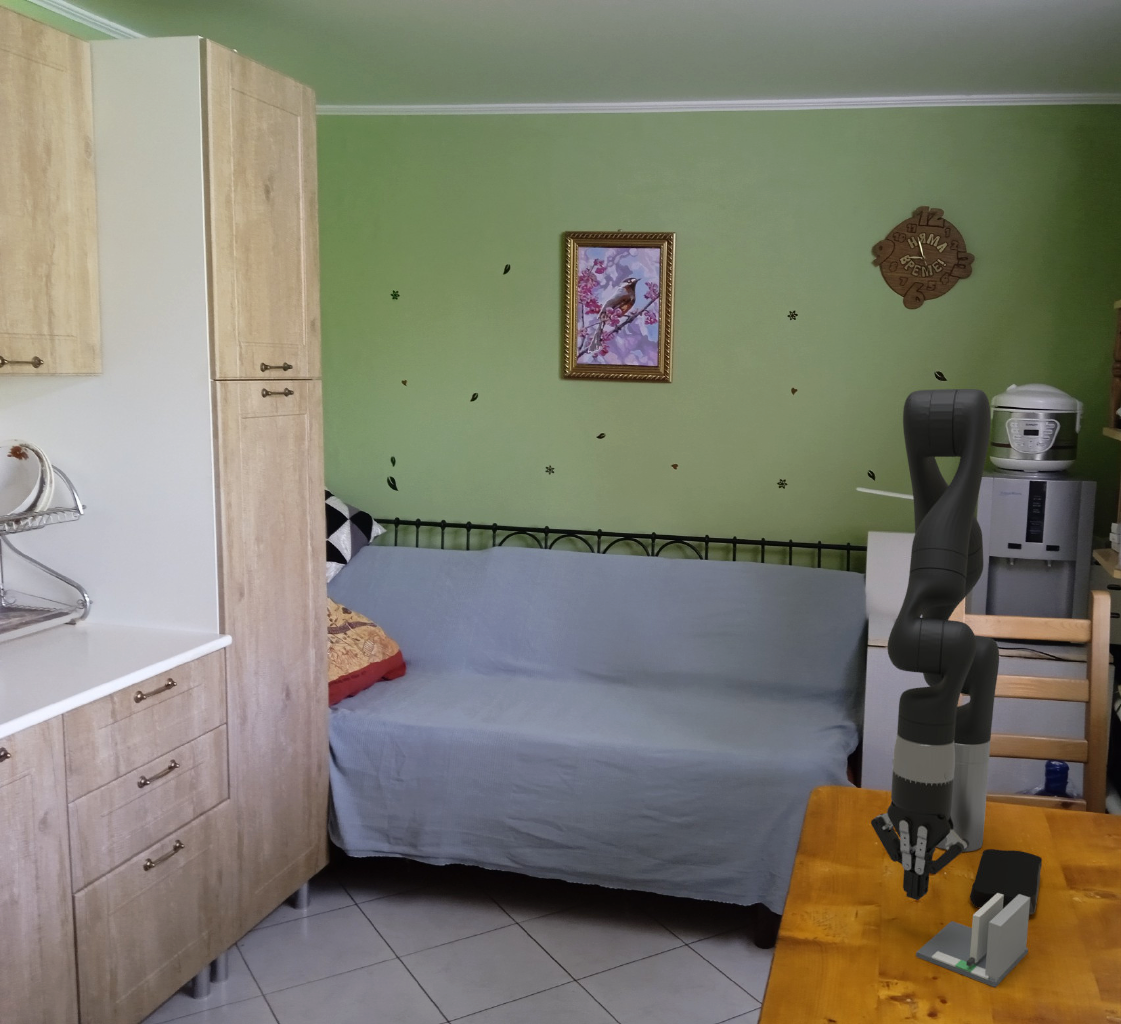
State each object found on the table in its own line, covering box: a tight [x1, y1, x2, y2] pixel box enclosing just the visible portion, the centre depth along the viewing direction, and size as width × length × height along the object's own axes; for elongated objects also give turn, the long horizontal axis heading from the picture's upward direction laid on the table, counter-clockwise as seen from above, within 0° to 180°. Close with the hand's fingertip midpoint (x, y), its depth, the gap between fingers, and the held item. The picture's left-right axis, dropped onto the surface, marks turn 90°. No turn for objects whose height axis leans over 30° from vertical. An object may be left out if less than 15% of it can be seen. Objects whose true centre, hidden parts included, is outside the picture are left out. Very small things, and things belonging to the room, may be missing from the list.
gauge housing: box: [915, 894, 1030, 988], centre depth 139 cm, size 11×10×8 cm
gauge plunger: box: [966, 893, 1004, 967], centre depth 138 cm, size 9×1×6 cm, turn 138°
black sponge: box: [969, 848, 1043, 915], centre depth 157 cm, size 16×8×4 cm, turn 153°
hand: (914, 896), depth 145 cm, fingers closed
